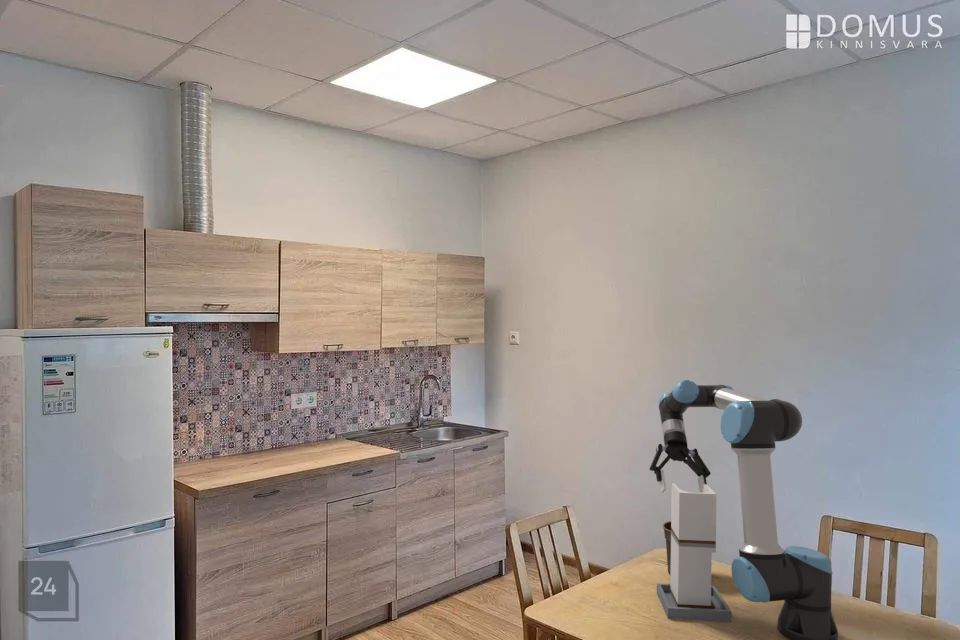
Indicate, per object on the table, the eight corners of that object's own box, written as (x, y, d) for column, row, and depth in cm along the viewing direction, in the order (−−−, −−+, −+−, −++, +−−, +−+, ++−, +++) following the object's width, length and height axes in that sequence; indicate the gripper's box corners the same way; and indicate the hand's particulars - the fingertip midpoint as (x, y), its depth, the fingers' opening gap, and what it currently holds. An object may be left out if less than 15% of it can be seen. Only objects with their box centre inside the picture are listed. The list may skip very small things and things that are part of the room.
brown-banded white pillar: (714, 613, 192) (716, 494, 192) (677, 611, 193) (679, 492, 193) (705, 596, 203) (706, 484, 203) (670, 594, 204) (671, 483, 204)
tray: (714, 595, 206) (714, 586, 206) (731, 621, 188) (731, 611, 188) (656, 592, 207) (656, 583, 207) (667, 618, 189) (667, 608, 189)
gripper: (704, 444, 229) (715, 502, 215) (636, 436, 226) (642, 493, 213) (713, 434, 223) (725, 492, 210) (643, 425, 221) (650, 483, 207)
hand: (683, 493), depth 211 cm, fingers open, 13 cm apart
